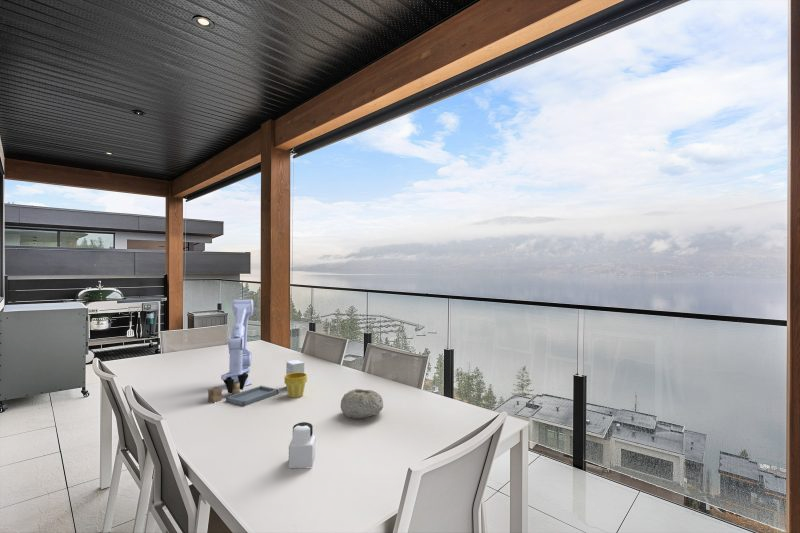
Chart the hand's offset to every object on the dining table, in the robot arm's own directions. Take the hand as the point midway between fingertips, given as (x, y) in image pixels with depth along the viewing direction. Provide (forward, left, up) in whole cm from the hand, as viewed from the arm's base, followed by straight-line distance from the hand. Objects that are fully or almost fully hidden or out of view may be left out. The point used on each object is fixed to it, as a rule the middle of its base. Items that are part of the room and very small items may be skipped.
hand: (235, 391), depth 185 cm
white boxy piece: (+73, -33, -2) cm, 80 cm away
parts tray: (+11, +1, -1) cm, 11 cm away
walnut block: (0, -11, -2) cm, 11 cm away
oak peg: (0, 0, -1) cm, 1 cm away
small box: (+17, +22, -2) cm, 28 cm away
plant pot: (+26, +13, -2) cm, 29 cm away
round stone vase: (+67, +9, -2) cm, 68 cm away
